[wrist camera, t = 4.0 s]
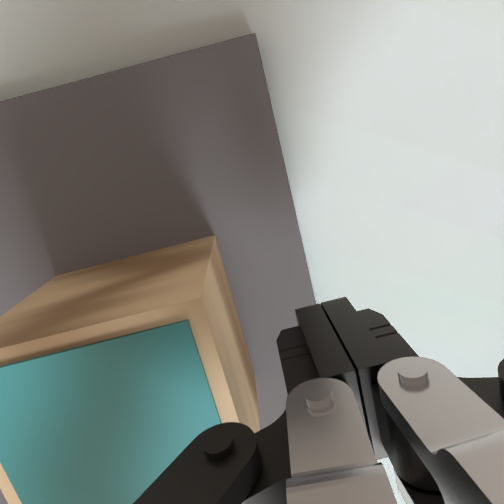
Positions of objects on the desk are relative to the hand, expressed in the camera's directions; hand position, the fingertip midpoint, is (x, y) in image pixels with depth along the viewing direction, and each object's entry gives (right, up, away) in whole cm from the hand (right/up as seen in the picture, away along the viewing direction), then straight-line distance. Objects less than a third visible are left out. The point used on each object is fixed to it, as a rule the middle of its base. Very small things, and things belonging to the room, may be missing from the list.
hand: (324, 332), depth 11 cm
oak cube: (-6, -1, +4) cm, 7 cm away
